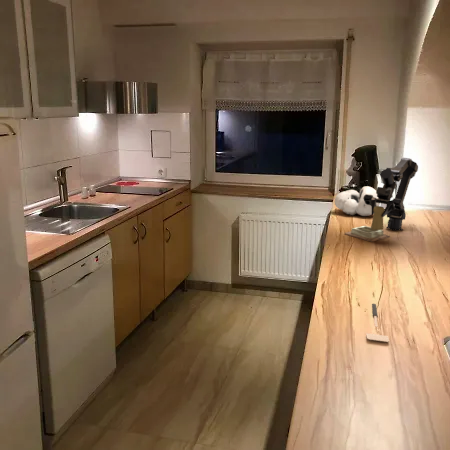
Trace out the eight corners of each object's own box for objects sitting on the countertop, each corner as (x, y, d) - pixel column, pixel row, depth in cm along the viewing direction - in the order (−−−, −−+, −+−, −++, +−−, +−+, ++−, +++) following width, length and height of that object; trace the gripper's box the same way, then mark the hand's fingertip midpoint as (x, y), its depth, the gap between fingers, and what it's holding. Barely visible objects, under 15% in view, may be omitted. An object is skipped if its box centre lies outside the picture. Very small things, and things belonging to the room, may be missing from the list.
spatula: (366, 343, 144) (367, 338, 144) (364, 304, 172) (364, 300, 172) (388, 346, 143) (389, 341, 143) (383, 306, 171) (383, 302, 170)
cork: (370, 226, 254) (372, 204, 251) (383, 227, 252) (385, 205, 249) (370, 229, 248) (372, 207, 245) (383, 230, 247) (385, 208, 244)
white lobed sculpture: (341, 196, 321) (350, 170, 305) (377, 215, 313) (388, 189, 297) (326, 214, 309) (335, 188, 293) (363, 234, 301) (375, 208, 285)
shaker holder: (363, 230, 269) (364, 224, 268) (389, 237, 257) (390, 230, 256) (344, 234, 259) (345, 228, 258) (370, 241, 247) (371, 235, 246)
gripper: (366, 178, 253) (355, 203, 247) (403, 183, 242) (393, 209, 236) (371, 191, 261) (360, 216, 255) (407, 196, 250) (397, 222, 244)
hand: (377, 215), depth 247 cm, fingers closed on cork, 5 cm apart
